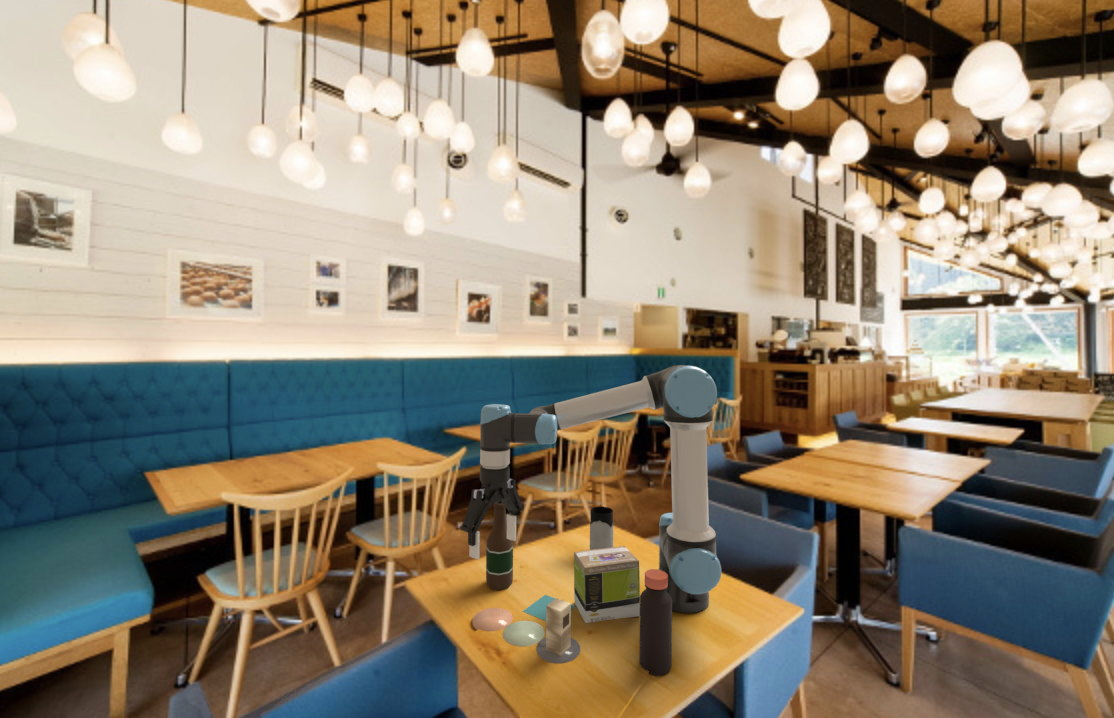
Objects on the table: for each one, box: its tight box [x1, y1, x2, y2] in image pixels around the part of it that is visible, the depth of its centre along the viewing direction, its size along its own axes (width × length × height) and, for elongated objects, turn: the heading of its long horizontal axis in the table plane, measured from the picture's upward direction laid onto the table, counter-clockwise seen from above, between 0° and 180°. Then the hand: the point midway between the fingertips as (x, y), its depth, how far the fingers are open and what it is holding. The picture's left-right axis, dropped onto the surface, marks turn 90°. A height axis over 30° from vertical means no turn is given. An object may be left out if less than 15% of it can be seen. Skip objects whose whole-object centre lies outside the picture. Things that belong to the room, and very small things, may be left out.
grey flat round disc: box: [535, 636, 581, 664], centre depth 104 cm, size 10×10×1 cm
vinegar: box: [638, 568, 673, 677], centre depth 99 cm, size 7×7×20 cm
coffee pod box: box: [573, 545, 641, 624], centre depth 121 cm, size 15×10×15 cm, turn 104°
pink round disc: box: [471, 607, 514, 632], centre depth 116 cm, size 10×10×1 cm
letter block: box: [545, 597, 572, 656], centre depth 104 cm, size 4×4×10 cm
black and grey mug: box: [589, 505, 614, 550], centre depth 157 cm, size 9×14×15 cm, turn 164°
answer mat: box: [522, 594, 576, 622], centre depth 120 cm, size 10×10×1 cm
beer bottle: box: [485, 501, 514, 591], centre depth 134 cm, size 8×8×24 cm
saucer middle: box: [502, 620, 546, 647], centre depth 110 cm, size 10×10×1 cm
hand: (493, 548), depth 117 cm, fingers open, 13 cm apart
